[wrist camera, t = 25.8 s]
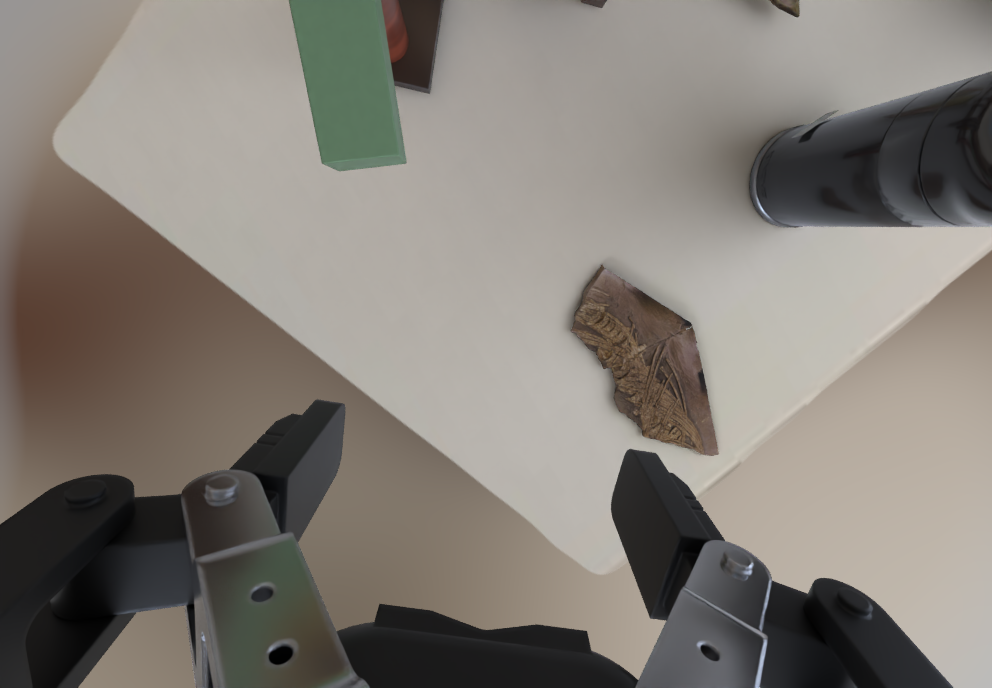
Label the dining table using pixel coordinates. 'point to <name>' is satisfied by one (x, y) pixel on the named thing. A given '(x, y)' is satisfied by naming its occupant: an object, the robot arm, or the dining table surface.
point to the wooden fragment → (648, 362)
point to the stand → (595, 2)
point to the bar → (349, 82)
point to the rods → (412, 40)
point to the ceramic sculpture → (787, 6)
